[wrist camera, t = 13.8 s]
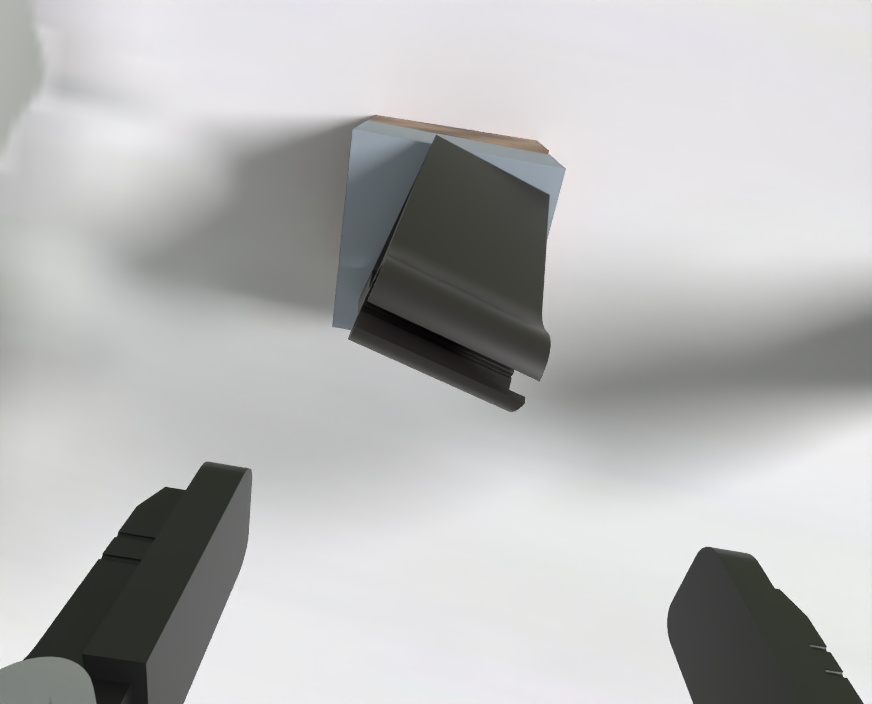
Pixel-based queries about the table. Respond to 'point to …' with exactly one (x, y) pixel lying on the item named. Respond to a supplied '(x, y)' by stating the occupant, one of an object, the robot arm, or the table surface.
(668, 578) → the table surface
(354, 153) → the tower top
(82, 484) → the table surface
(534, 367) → the phone stand
